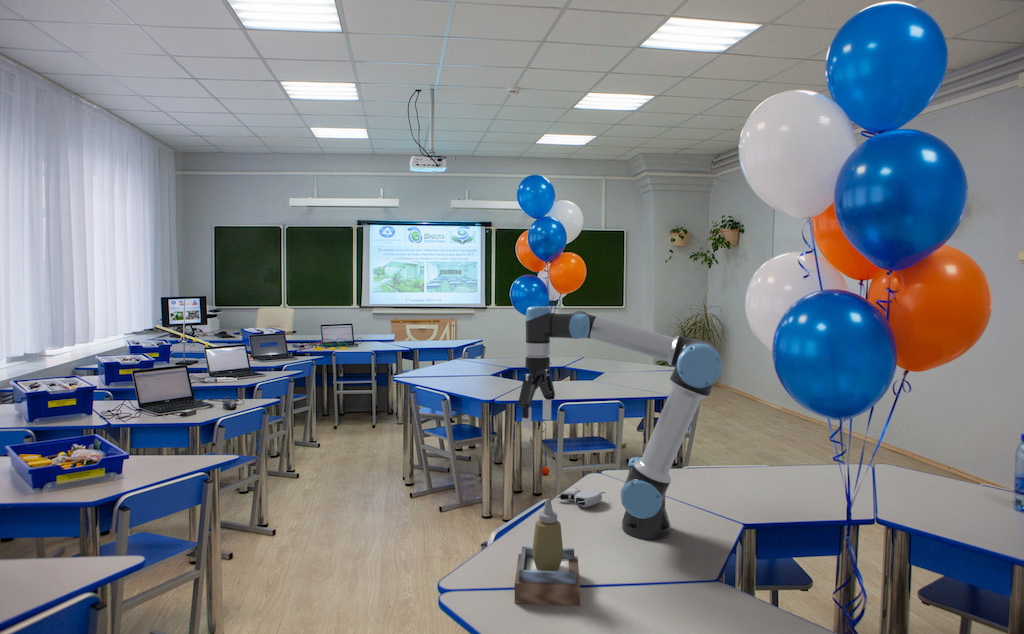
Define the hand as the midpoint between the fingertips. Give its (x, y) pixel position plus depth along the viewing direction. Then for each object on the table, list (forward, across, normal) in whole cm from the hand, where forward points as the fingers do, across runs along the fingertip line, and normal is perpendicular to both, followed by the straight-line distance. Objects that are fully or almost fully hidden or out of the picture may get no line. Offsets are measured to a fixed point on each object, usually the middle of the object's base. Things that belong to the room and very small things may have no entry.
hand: (537, 423), depth 186 cm
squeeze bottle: (+30, +29, +18) cm, 45 cm away
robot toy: (+35, -31, +2) cm, 47 cm away
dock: (+35, +29, +18) cm, 49 cm away
